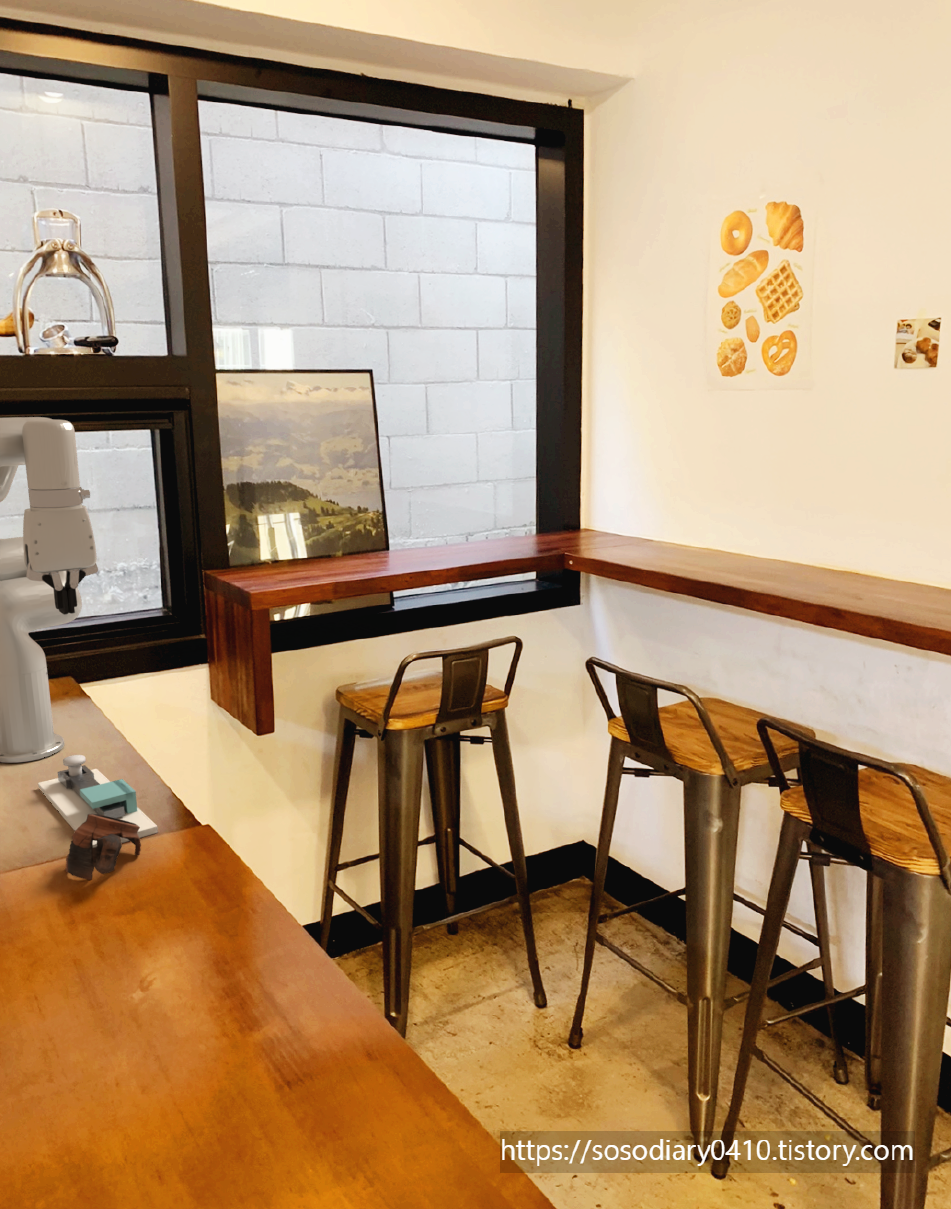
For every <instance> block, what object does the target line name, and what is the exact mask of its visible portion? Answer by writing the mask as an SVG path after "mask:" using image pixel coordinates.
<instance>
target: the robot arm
mask: <svg viewBox="0 0 951 1209" xmlns="http://www.w3.org/2000/svg"><path fill="white" fill-rule="evenodd" d="M74 427H75V426H74V425H73V424H72V423H71V421H68V420H65V419H52V418H50V417H43V416H42V417H41V416H34V417H33V416H29V417H28V416H27V417H25V416H22V417H20V416H19V417H18V416H17V417H15V416H14V417H12V416H11V417H0V503H1V502H3V501H4V500H6V497H8V494H9V492H10V489H11V486H12V484H13V481H14V478H15V476H16V473H17V471H18V468H19V466H25V472H26V480H27V490H28V500H29V508H25V509H24V511H23V512H24V513H23V522H22V523H23V524H22V525H23V526H22V527H23V529H22V536H18V537H17V536H16V537H7V538H0V763H7V764H10V763H11V764H14V763H25V762H26V763H27V762H32V761H36V760H41V759H44V757H45V758H47V757H49V756H52V754H53V755H54V753H55V754H57V753H58V752H60V751H61V750H62V749H63V748H64V746H65V740H64V737H63V736H62V735H60V734H57V733H55V731H54V722H53V711H52V705H51V702H52V701H51V695H50V694H51V693H50V685H49V684H50V683H49V675H48V668H47V667H48V664H47V659H46V654H45V652H44V650H43V648H42V647H41V646H40V644H38V643H37V642H36V641H35V640H34V639H33V638H32V637H31V636H30V635H29V633H30V632H34V631H37V630H42V629H46V628H51V627H56V626H61V625H66V624H68V623H71V622H72V621H75V619H77V618H78V617H79V616H80V614H81V612H82V607H83V604H82V603H83V602H82V596H81V593H80V590H79V588H78V587H79V585H80V583H81V582H82V581H83V580H84V578H85V577H88V576H91V575H93V574H97V573H98V572H99V567H98V565H97V560H98V559H97V557H98V556H97V549H96V541H95V535H94V531H93V525H92V523H91V519H90V515H89V512H88V508H87V506H86V505H82V504H84V500H86V499H90V498H91V491H90V490H89V489H84V488H82V486H81V484H80V483H81V482H80V473H79V472H80V471H79V464H78V463H79V461H78V460H79V459H78V453H77V452H78V449H77V439H76V433H75V432H76V431H75V428H74Z"/></svg>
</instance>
